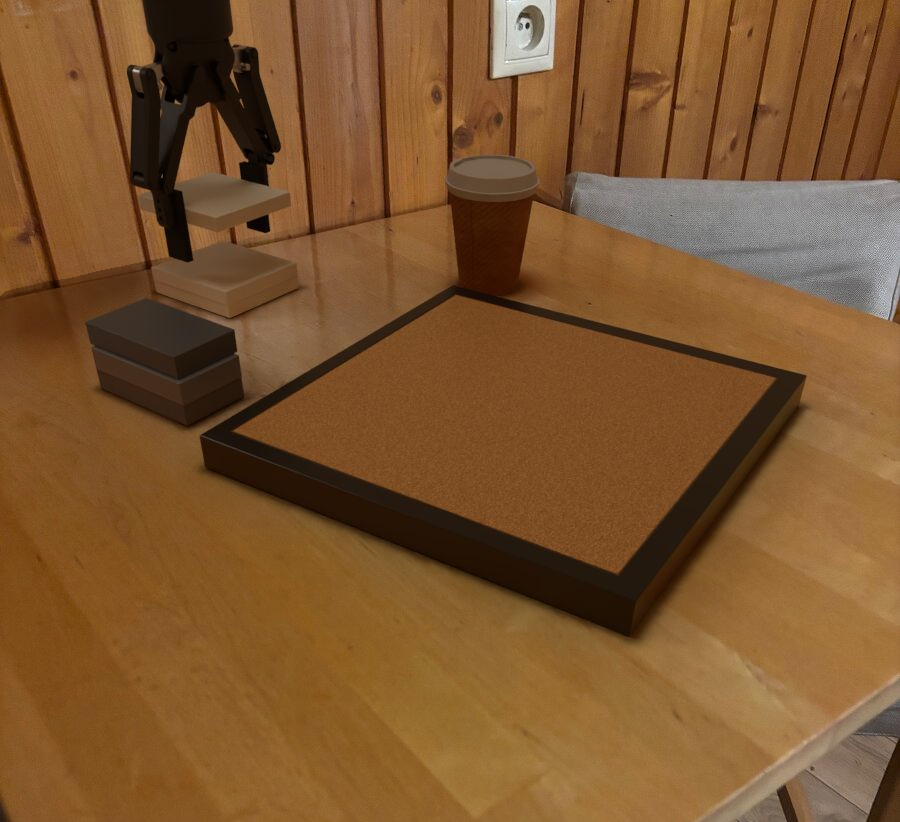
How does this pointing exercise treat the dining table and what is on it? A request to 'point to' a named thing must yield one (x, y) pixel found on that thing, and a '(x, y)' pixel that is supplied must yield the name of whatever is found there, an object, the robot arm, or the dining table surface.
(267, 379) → the dining table surface
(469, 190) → the disposable coffee cup
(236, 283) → the beige square block
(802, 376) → the cork board
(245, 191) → the beige flat slab
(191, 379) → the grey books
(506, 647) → the dining table surface
